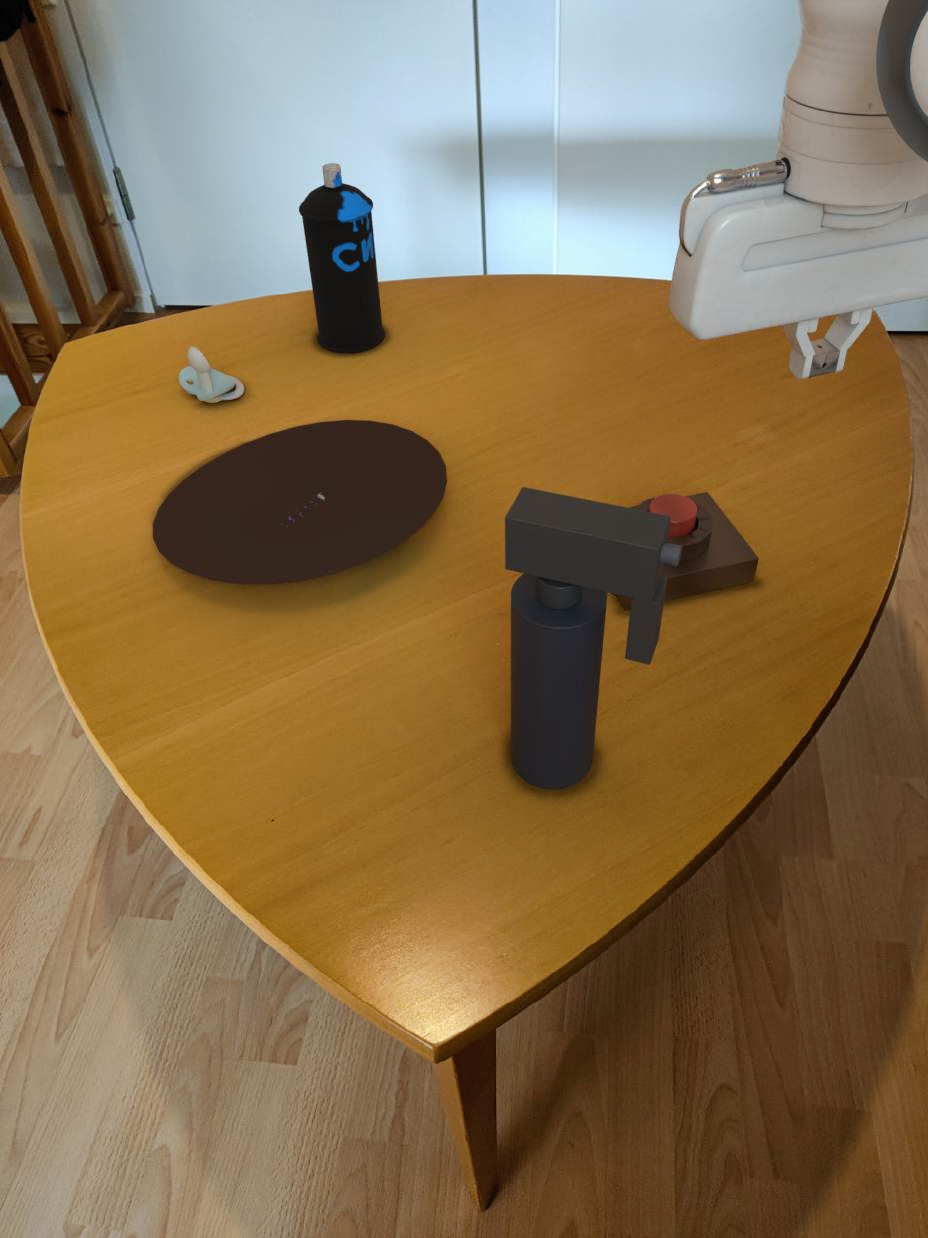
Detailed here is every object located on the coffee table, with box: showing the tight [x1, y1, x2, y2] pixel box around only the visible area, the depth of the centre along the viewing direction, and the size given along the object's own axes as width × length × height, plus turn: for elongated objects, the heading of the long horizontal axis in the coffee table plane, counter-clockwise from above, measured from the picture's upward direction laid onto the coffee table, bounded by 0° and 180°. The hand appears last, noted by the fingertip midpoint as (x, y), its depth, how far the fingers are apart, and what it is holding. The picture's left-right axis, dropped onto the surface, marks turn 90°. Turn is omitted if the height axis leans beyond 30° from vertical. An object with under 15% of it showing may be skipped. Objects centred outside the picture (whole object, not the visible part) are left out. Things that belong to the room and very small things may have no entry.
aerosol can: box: [298, 162, 386, 354], centre depth 114 cm, size 8×8×20 cm
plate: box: [152, 419, 448, 585], centre depth 94 cm, size 28×28×4 cm
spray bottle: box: [504, 486, 682, 790], centre depth 65 cm, size 10×6×22 cm, turn 69°
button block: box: [614, 491, 760, 611], centre depth 87 cm, size 12×10×4 cm
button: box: [649, 493, 697, 537], centre depth 85 cm, size 4×4×2 cm
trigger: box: [624, 577, 667, 666], centre depth 61 cm, size 2×2×5 cm
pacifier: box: [178, 345, 245, 404], centre depth 110 cm, size 7×6×6 cm
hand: (814, 371), depth 65 cm, fingers closed
